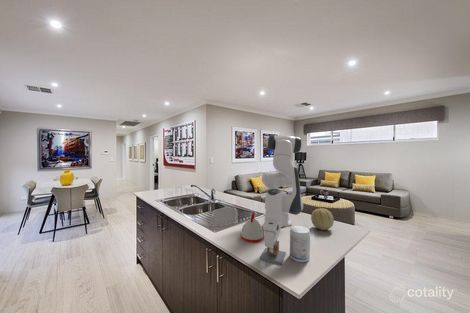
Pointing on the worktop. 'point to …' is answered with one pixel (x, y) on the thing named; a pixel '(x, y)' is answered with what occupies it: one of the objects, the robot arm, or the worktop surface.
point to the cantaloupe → (322, 218)
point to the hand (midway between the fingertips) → (273, 248)
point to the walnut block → (276, 249)
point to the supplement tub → (300, 243)
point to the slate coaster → (273, 257)
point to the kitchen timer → (252, 231)
